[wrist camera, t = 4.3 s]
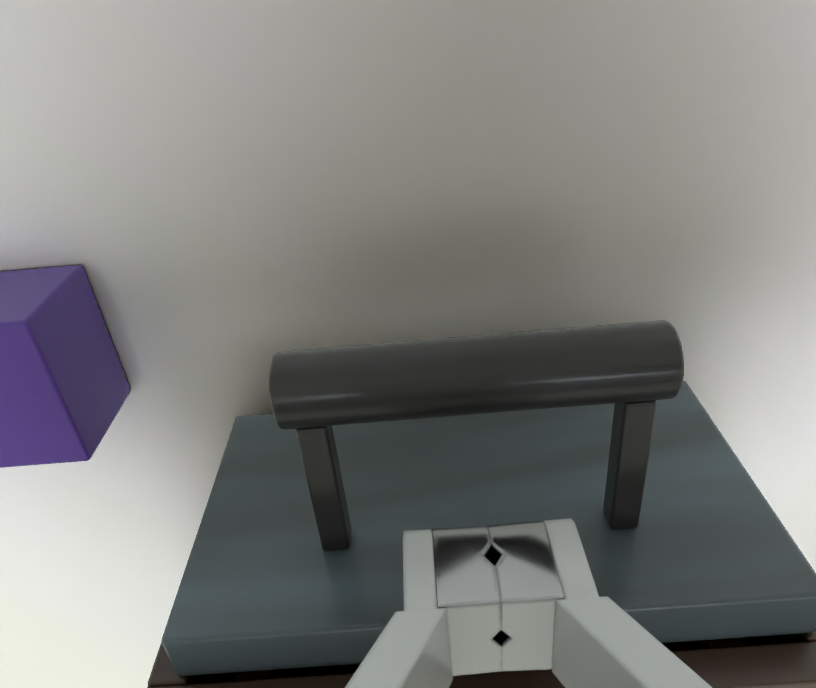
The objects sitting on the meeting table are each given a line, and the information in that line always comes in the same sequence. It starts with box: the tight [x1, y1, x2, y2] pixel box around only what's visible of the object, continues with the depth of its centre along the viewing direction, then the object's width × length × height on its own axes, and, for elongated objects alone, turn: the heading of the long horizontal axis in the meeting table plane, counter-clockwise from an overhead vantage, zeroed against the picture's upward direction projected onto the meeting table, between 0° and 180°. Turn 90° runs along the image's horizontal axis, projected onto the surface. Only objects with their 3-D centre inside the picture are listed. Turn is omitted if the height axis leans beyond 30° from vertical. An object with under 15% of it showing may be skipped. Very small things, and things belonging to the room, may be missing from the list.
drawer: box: [162, 320, 816, 681], centre depth 17 cm, size 17×12×7 cm
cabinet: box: [147, 629, 816, 688], centre depth 19 cm, size 14×14×9 cm
